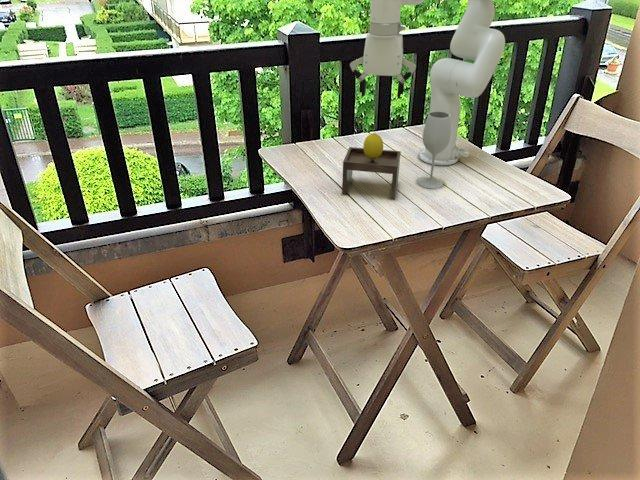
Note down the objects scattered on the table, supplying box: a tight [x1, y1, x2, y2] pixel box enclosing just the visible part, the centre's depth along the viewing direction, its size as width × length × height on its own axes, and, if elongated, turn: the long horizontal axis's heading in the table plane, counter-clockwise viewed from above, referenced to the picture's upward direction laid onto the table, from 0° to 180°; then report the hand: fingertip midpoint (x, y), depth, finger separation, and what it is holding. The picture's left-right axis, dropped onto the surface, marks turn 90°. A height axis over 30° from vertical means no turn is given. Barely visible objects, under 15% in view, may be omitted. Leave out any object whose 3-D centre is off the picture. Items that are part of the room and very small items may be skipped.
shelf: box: [341, 146, 402, 201], centre depth 151 cm, size 15×11×10 cm
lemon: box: [362, 132, 384, 160], centre depth 147 cm, size 6×6×8 cm
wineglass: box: [417, 111, 451, 190], centre depth 152 cm, size 8×8×21 cm
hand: (381, 95), depth 143 cm, fingers open, 9 cm apart
